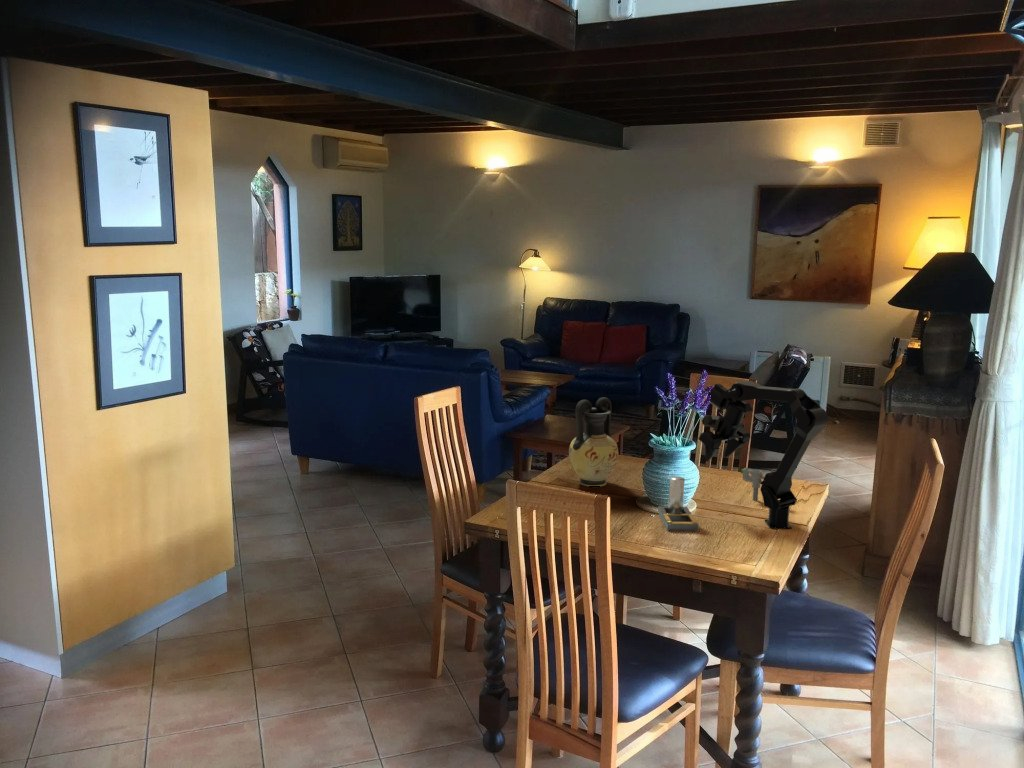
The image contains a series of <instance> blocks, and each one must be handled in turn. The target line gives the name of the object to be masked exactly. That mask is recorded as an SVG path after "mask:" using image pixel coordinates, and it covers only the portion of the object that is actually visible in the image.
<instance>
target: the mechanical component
mask: <svg viewBox="0 0 1024 768" xmlns="http://www.w3.org/2000/svg"><path fill="white" fill-rule="evenodd" d="M740 474H742V479H743V481H745V482H749V483H752V485H751V487H752V501H753V500H756V501H758V499H759V488H760V489H761V484H760V483H761V482H762V481H763V480H764V477H765V475H763V471H762V470H760V469H756V468H755V469H754V468H751V467H750V468H749V467H744V468H741V469H740Z"/></svg>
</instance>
